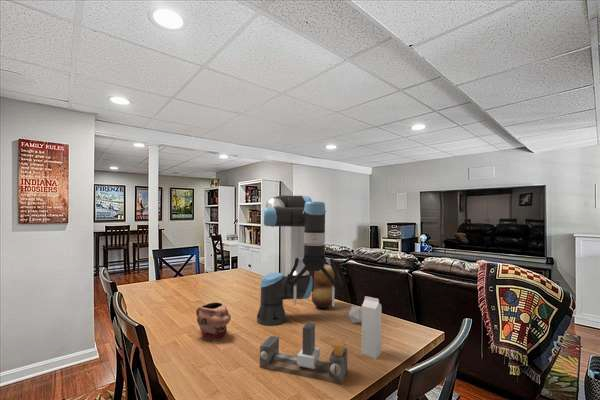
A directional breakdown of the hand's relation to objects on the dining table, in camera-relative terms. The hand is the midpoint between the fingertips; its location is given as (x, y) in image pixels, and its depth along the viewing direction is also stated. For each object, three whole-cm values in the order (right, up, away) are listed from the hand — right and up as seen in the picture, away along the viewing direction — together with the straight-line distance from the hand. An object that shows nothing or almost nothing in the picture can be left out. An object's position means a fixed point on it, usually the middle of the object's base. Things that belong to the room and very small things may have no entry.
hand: (313, 304), depth 101 cm
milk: (+24, -24, +12) cm, 36 cm away
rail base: (-4, -23, 0) cm, 23 cm away
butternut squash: (+9, -26, +67) cm, 72 cm away
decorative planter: (-45, -24, +26) cm, 57 cm away
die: (+24, -26, +44) cm, 57 cm away
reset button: (+8, -16, -4) cm, 18 cm away
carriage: (-2, -21, 0) cm, 21 cm away
